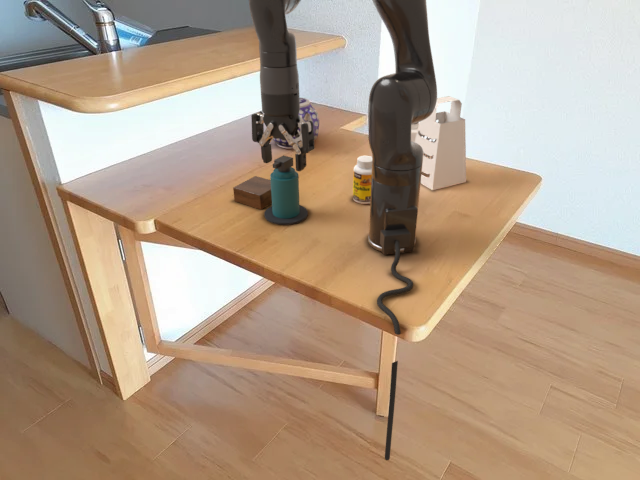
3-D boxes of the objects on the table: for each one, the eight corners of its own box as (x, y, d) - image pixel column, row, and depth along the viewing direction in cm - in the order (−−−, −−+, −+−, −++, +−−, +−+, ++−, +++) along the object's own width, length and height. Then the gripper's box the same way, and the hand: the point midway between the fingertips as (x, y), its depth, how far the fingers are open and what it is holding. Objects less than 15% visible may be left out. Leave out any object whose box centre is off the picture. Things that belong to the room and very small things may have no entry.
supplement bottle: (348, 201, 122) (349, 160, 116) (359, 192, 126) (360, 152, 121) (370, 207, 119) (372, 164, 114) (380, 197, 123) (382, 156, 118)
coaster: (311, 222, 113) (311, 220, 113) (267, 227, 111) (266, 225, 111) (303, 203, 121) (303, 201, 121) (262, 207, 120) (262, 205, 119)
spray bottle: (297, 227, 116) (268, 205, 105) (276, 220, 119) (245, 198, 108) (318, 179, 118) (292, 152, 107) (297, 173, 121) (269, 146, 110)
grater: (406, 175, 135) (413, 97, 125) (439, 167, 139) (448, 91, 129) (432, 190, 127) (441, 108, 117) (466, 181, 131) (477, 101, 121)
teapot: (338, 150, 150) (338, 98, 143) (291, 161, 144) (289, 107, 136) (296, 127, 169) (294, 80, 162) (252, 135, 162) (249, 86, 155)
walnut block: (261, 209, 118) (260, 195, 117) (234, 201, 122) (232, 187, 121) (282, 196, 124) (281, 183, 122) (256, 189, 128) (255, 175, 126)
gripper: (239, 87, 103) (246, 165, 111) (298, 97, 96) (301, 179, 104) (263, 79, 108) (268, 154, 116) (321, 88, 101) (322, 166, 110)
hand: (283, 166), depth 110 cm, fingers open, 8 cm apart
